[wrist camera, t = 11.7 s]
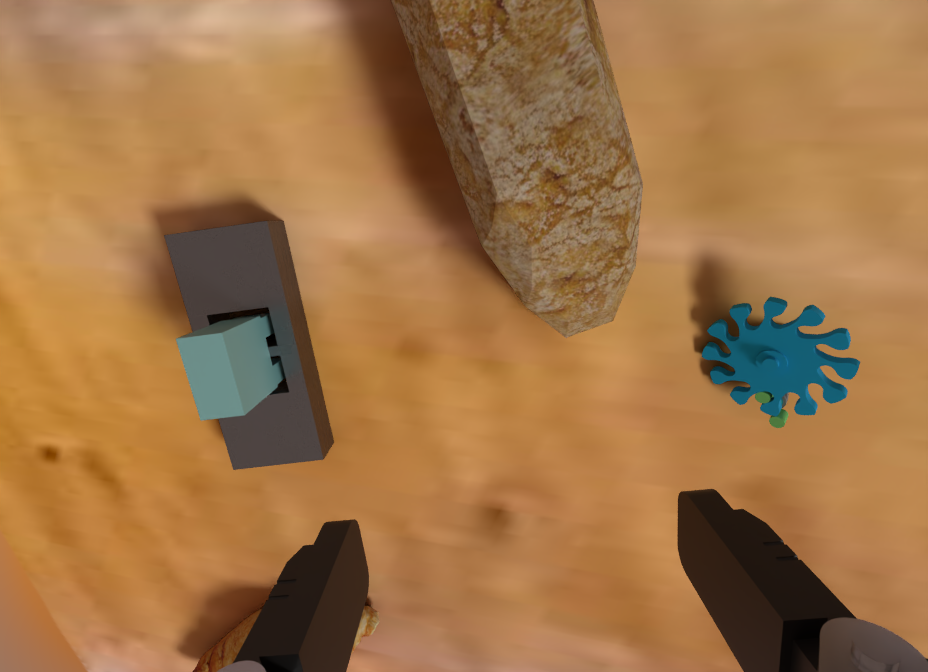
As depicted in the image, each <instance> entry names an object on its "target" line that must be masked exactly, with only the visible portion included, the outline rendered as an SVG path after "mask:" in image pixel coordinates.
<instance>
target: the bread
mask: <svg viewBox="0 0 928 672" xmlns="http://www.w3.org/2000/svg"><path fill="white" fill-rule="evenodd" d="M391 2H392V4H393V7H394V10H395V13H396V15H397V18H398V21H399V23H400V26H401V29H402V32H403V34H404V37H405V40H406V42H407V45H408V48H409V51H410V53H411V56H412V59H413V61H414V64H415V67H416V70H417V72H418V75H419V78H420V80H421V83H422V86H423V89H424V91H425V94H426V97H427V100H428V102H429V105H430V108H431V110H432V113H433V116H434V119H435V121H436V124H437V127H438V129H439V132H440V135H441V138H442V140H443V143H444V146H445V148H446V151H447V154H448V157H449V159H450V162H451V165H452V167H453V170H454V173H455V176H456V178H457V181H458V184H459V186H460V189H461V192H462V195H463V197H464V200H465V203H466V206H467V208H468V211H469V214H470V216H471V219H472V222H473V225H474V227H475V230H476V233H477V235H478V238H479V241H480V243H481V245H482V247H483V248H484V250H485V251H486V253H487V254H488V255H489V257H490V258H491V259H492V261H493V262H494V264H495V265H496V266H497V268H498V269H499V270H500V272H501V273H502V275H503V276H504V277H505V279H506V280H507V282H508V283H509V284H510V286H511V287H512V288H513V290H514V291H515V293H516V294H517V295H518V297H519V298H520V299H521V301H522V302H523V304H524V305H525V306H526V307H527V308H528V309H529V310H531V311H532V312H533V313H535V314H536V315H537V316H538V317H540V318H541V319H542V320H544V321H545V322H546V323H548V324H549V325H550V326H551V327H553V328H554V329H555V330H557V331H558V332H559V333H560V334H562V335H563V336H564V337H566V338H567V337H570V336H572V335H575V334H578V333H581V332H583V331H586V330H589V329H592V328H595V327H597V326H600V325H603V324H606V323H608V322H611V321H613V320H614V317H615V315H616V312H617V310H618V308H619V305H620V303H621V300H622V298H623V295H624V293H625V291H626V288H627V286H628V283H629V281H630V278H631V276H632V273H633V271H634V269H635V266H636V255H637V244H638V233H639V222H640V210H641V199H642V188H643V183H642V179H641V175H640V172H639V168H638V164H637V160H636V157H635V153H634V149H633V146H632V142H631V138H630V135H629V131H628V127H627V123H626V120H625V116H624V112H623V109H622V105H621V101H620V98H619V94H618V90H617V86H616V83H615V79H614V75H613V72H612V68H611V64H610V61H609V57H608V53H607V49H606V46H605V42H604V38H603V35H602V31H601V27H600V24H599V20H598V16H597V12H596V9H595V5H594V1H593V0H391Z"/></svg>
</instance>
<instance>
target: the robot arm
mask: <svg viewBox="0 0 928 672" xmlns="http://www.w3.org/2000/svg"><path fill="white" fill-rule="evenodd" d="M678 552H679V556H680V560H681V563H682V566H683V568H684V571H685V573H686V574H687V576H688V578H689V580H690V581H691V583H692V585H693V586H694V588H695V590H696V591H697V593H698V595H699V596H700V598H701V600H702V602H703V603H704V605H705V607H706V608H707V610H708V612H709V613H710V615H711V617H712V618H713V620H714V622H715V624H716V625H717V627H718V629H719V630H720V632H721V634H722V635H723V637H724V639H725V640H726V642H727V644H728V646H729V647H730V649H731V651H732V652H733V654H734V656H735V657H736V659H737V661H738V662H739V664H740V666H741V668H742V669H743V671H744V672H928V659H926V658H925V657H924V656H923V655H922V654H921V653H920V652H919V651H918V650H917V649H915V648H914V647H913V646H912V645H911V644H909V643H908V642H907V641H905V640H904V639H902V638H901V637H899V636H898V635H896V634H894V633H893V632H891V631H889V630H887V629H885V628H883V627H881V626H878V625H876V624H873V623H870V622H867V621H864V620H860V619H857V618H856V617H855V616H854V615H853V614H852V613H851V612H850V611H849V610H848V609H847V608H846V607H845V606H844V605H843V604H842V603H841V602H840V600H839V599H838V598H837V597H836V596H835V595H834V594H833V593H832V592H831V591H830V590H829V589H828V588H827V587H826V586H825V585H824V584H823V583H822V581H821V580H820V579H819V578H818V577H817V576H816V575H815V574H814V573H813V572H812V571H811V570H810V569H809V568H808V567H807V566H806V565H805V564H804V562H803V561H802V560H798V558H797V555H796V554H795V553H794V552H793V551H792V550H791V549H790V548H789V547H788V546H787V545H784V543H783V540H782V539H781V538H780V537H779V536H778V535H777V534H776V533H775V532H774V531H773V530H772V529H771V528H770V527H769V526H768V525H767V523H765V522H763V521H762V520H760V519H759V518H757V517H755V516H754V515H752V514H750V513H749V512H747V511H745V510H744V509H738V510H733V509H732V508H731V507H730V505H729V504H728V503H727V502H726V501H725V500H724V499H723V497H722V496H721V495H720V494H719V493H718V492H717V491H716V490H714V489H706V490H694V491H683V492H680V493H679V496H678ZM368 587H369V573H368V566H367V561H366V557H365V552H364V547H363V543H362V538H361V533H360V529H359V525H358V522H357V521H356V520H355V519H354V520H343V521H332V522H326V523H324V525H323V526H322V528H321V530H320V532H319V535H318V537H317V539H316V541H315V543H314V545H305V546H303V547H302V548H301V549H300V550H299V551H298V552H297V553H296V554H295V555H294V556H293V557H292V558H291V559H290V560H289V561H288V562H287V563H286V565H285V567H284V569H283V571H282V573H281V575H280V576H279V578H278V580H277V584H276V585H275V586H274V588H273V589H272V591H271V593H270V595H269V600H267V601H266V602H265V604H264V606H263V608H262V610H261V612H260V614H259V615H258V617H257V619H256V621H255V623H254V625H253V627H252V628H251V630H250V632H249V634H248V636H247V638H246V640H245V641H244V643H243V645H242V647H241V649H240V651H239V653H238V654H237V656H236V658H235V660H234V662H233V663H232V664H230V665H227V666H225V667H223V668H222V669H220V670H218V671H217V672H346V670H347V667H348V663H349V660H350V656H351V652H352V649H353V645H354V642H355V638H356V635H357V631H358V627H359V624H360V620H361V617H362V613H363V610H364V606H365V602H366V599H367V594H368Z"/></svg>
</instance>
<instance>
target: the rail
mask: <svg viewBox="0 0 928 672" xmlns="http://www.w3.org/2000/svg"><path fill="white" fill-rule="evenodd" d="M164 236H165V240H166V243H167V247H168V250H169V253H170V257H171V260H172V264H173V267H174V270H175V274H176V277H177V280H178V284H179V287H180V291H181V294H182V297H183V301H184V304H185V308H186V311H187V314H188V318H189V321H190V324H191V328H192V331H193V332H194V331H197V330H199V329H202V328H204V327H207V326H209V325H212V324H214V323H217V322H219V321H224V320H230V317H229V313H228V312H235V311H242V310H250V309H258V308H265V307H268V308H269V312H270V316H271V320H272V324H273V328H274V332H275V336H276V339H270V340H266V342H267V346H268V350H269V353H270V357H273V356H280V357H281V361H282V365H283V369H284V373H285V377H286V381H287V382H280V383H279V384H277V385H278V387H277V388H276V389H275V390H274V391H272V392H271V393H270V394H269V395H268V396H267V397H265V398H264V399H263V400H262V401H261V402H260V403H258V404H257V405H256V406H255V407H254V408H253V409H251V410H250V411H249V412H248V413H247V414H246V415H243V416H234V417H226V418H218V419H219V423H220V426H221V429H222V433H223V436H224V439H225V443H226V446H227V450H228V453H229V456H230V460H231V463H232V467H233V470H236V469H245V468H253V467H262V466H271V465H280V464H288V463H297V462H306V461H315V460H323V459H324V458H325V456H326V455H327V453H328V451H329V450H330V448H331V447H332V445H333V443H334V440H333V436H332V432H331V427H330V423H329V418H328V414H327V410H326V405H325V401H324V396H323V392H322V388H321V383H320V379H319V375H318V370H317V366H316V361H315V357H314V353H313V348H312V344H311V339H310V335H309V331H308V326H307V322H306V318H305V313H304V309H303V304H302V300H301V296H300V291H299V287H298V282H297V278H296V274H295V269H294V265H293V260H292V256H291V252H290V247H289V243H288V239H287V234H286V230H285V225H284V221H262V222H255V223H248V224H241V225H234V226H227V227H220V228H213V229H206V230H199V231H191V232H184V233H177V234H170V235H164Z"/></svg>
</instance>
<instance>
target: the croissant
mask: <svg viewBox="0 0 928 672" xmlns="http://www.w3.org/2000/svg"><path fill="white" fill-rule="evenodd" d="M261 610H262V609H260V610H258V611H256V612H255V613H253V614H252V615H250V616H249V617H247V618H246V619H245V620H243V621H242V622H241V623H240V624H239V625H238V626H237V627H236V628H235V629H234V630H232V631H231V632H229V633H228V634H227V635H226V636H225V637H224V638H223V639H222V640H221V641H220V642H219V643H218V644H217V645H215V646H214V647H212V648H211V649H210V650H208V651H207V652H206V653H205V654H204V655H203V656H202V657H201V658H200V660H199V662H198V664H197V666H196V668H195V669H194V670H193V672H217V671H218V670H220V669H222V668H223V667H225V666H227V665H230V664H232V663H233V662H234V660H235V658H236V656H237V654H238V653H239V651H240V649H241V647H242V645H243V643H244V641H245V640H246V638H247V636H248V634H249V632H250V630H251V628H252V627H253V625H254V623H255V621H256V619H257V617H258V615H259V614H260V612H261ZM378 623H379V616H378V612H377V611H376V610H374V609H373V608H371V607H369V606H364V610H363V613H362V617H361V620H360V624H359V627H358V631H357V635H356V638H355V642H354V645H353V649H352V652H351V654H352V653H353V651H354V650H355V647H356V646H357V645H358V644H359V643H360V641H361V637H363V636H369V635H371V634H373V632H374V630H375V629H376V626H377V625H378Z"/></svg>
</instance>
